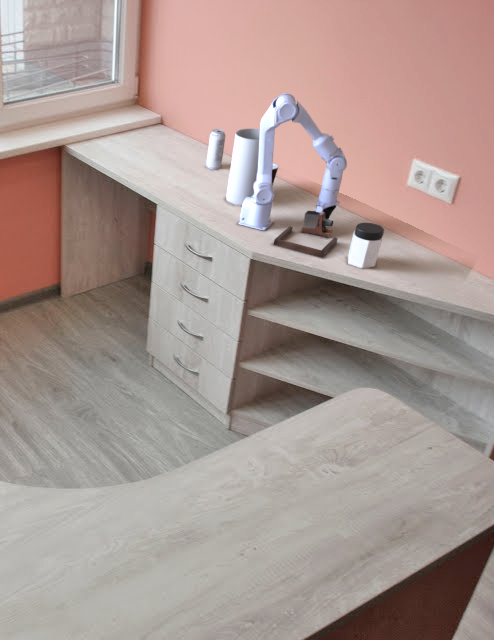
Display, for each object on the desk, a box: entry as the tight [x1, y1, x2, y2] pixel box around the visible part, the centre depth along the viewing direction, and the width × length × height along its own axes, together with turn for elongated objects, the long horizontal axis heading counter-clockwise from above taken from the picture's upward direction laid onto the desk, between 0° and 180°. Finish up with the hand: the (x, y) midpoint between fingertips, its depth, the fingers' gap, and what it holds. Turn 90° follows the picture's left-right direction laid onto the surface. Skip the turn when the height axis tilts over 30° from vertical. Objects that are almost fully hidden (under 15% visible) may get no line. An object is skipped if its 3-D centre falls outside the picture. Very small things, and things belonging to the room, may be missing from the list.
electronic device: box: [300, 210, 334, 239], centre depth 270 cm, size 4×10×8 cm, turn 55°
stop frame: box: [273, 225, 338, 259], centre depth 264 cm, size 16×13×2 cm
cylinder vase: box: [225, 128, 260, 207], centre depth 289 cm, size 12×12×25 cm
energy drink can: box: [205, 128, 226, 171], centre depth 321 cm, size 6×6×15 cm
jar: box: [347, 222, 385, 269], centre depth 250 cm, size 9×8×12 cm
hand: (321, 225), depth 274 cm, fingers closed
